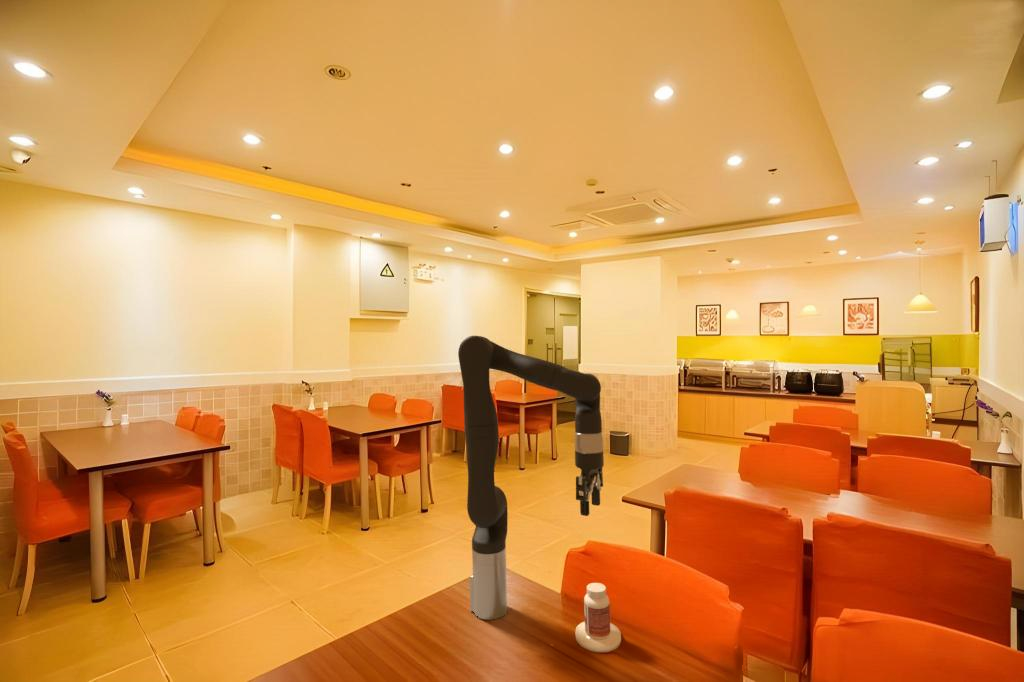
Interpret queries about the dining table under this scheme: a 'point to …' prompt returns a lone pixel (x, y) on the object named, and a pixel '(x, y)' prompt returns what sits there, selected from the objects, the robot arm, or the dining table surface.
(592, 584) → the pill bottle
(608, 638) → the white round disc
